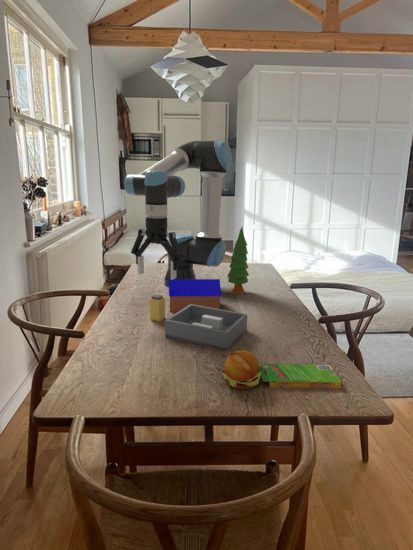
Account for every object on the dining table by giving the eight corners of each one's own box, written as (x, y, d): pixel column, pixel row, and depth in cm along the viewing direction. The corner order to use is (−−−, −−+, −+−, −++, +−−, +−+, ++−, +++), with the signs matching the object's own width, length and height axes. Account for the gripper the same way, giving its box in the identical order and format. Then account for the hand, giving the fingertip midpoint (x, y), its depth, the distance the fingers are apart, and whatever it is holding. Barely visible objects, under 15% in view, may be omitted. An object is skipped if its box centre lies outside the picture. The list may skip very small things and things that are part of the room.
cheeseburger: (265, 374, 114) (266, 346, 109) (256, 403, 106) (257, 373, 101) (229, 368, 117) (229, 339, 112) (218, 394, 109) (217, 365, 104)
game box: (340, 392, 109) (262, 387, 108) (329, 374, 118) (257, 370, 118) (341, 382, 108) (263, 377, 107) (330, 364, 117) (258, 360, 117)
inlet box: (165, 337, 137) (165, 320, 136) (190, 319, 153) (190, 303, 151) (226, 350, 128) (227, 332, 127) (246, 330, 144) (247, 314, 142)
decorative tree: (241, 296, 180) (244, 227, 172) (222, 293, 184) (224, 225, 176) (250, 291, 188) (254, 225, 180) (231, 287, 192) (234, 223, 184)
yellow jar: (150, 319, 152) (149, 296, 150) (155, 315, 156) (155, 293, 153) (159, 321, 151) (159, 298, 148) (165, 317, 154) (164, 295, 152)
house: (169, 302, 171) (169, 275, 168) (217, 302, 173) (218, 275, 170) (168, 312, 160) (168, 283, 157) (220, 312, 162) (221, 283, 158)
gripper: (120, 215, 145) (121, 273, 151) (183, 220, 135) (182, 283, 140) (132, 213, 152) (134, 269, 157) (193, 218, 141) (192, 278, 147)
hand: (156, 276), depth 149 cm, fingers open, 13 cm apart
